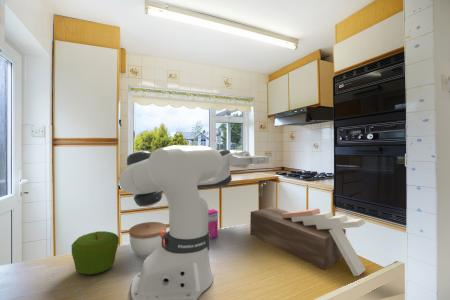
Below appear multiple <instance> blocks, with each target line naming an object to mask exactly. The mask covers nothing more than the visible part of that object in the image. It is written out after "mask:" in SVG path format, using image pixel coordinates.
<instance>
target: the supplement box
mask: <svg viewBox="0 0 450 300" xmlns="http://www.w3.org/2000/svg"><path fill="white" fill-rule="evenodd" d="M218 215H219V212H218V210H217V209H216V210H215V209H214V208H211V207H208V230H209V234H210V241H211V240H213V239H218V237H219V236H218V231H219V230H218V229H219V227H218V225H219V223H218V222H219V221H218V220H219V219H218V218H219V216H218Z"/></svg>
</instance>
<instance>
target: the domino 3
mask: <svg viewBox="0 0 450 300" xmlns="http://www.w3.org/2000/svg"><path fill="white" fill-rule="evenodd" d="M346 220H349V218H348V216H347V214H343V215H342V214H340V215H333V217H330V218H327V219H321V220H309V221H303V224H304V226H305V225H319V224H332V223H342V222H344V221H346Z"/></svg>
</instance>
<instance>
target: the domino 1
mask: <svg viewBox="0 0 450 300" xmlns="http://www.w3.org/2000/svg"><path fill="white" fill-rule="evenodd" d="M287 212H288V213H284V214H281V215H282V218H292V217H302V216H312V215H315V214H318V213H321V210H320V208H311V209H304V210H303V209H302V210H295V211H287Z"/></svg>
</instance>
